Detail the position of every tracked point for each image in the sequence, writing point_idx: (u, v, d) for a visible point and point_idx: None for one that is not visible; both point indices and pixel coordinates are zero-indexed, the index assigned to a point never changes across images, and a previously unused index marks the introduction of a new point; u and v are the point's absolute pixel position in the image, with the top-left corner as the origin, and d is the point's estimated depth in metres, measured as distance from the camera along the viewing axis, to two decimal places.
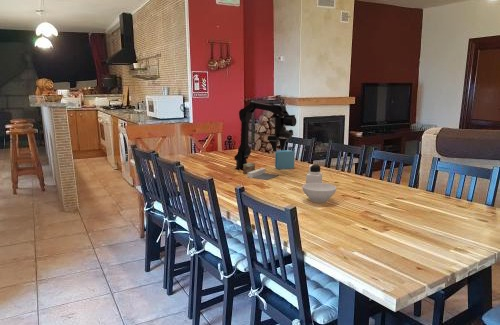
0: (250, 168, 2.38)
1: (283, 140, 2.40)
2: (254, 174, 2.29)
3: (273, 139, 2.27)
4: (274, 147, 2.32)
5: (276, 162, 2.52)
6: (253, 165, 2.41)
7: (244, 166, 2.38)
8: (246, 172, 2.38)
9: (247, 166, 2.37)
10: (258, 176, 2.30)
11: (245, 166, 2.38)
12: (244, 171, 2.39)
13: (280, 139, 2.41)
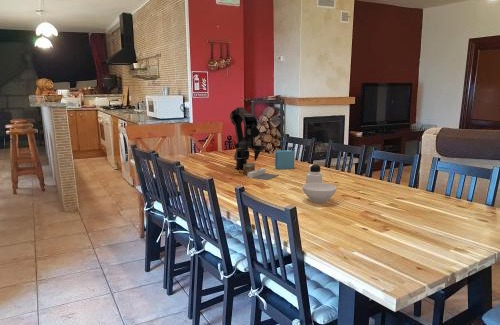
0: (250, 168, 2.38)
1: None
2: (254, 174, 2.29)
3: None
4: None
5: (276, 162, 2.52)
6: (253, 165, 2.41)
7: (244, 166, 2.38)
8: (246, 172, 2.38)
9: (247, 166, 2.37)
10: (258, 176, 2.30)
11: (245, 166, 2.38)
12: (244, 171, 2.39)
13: None
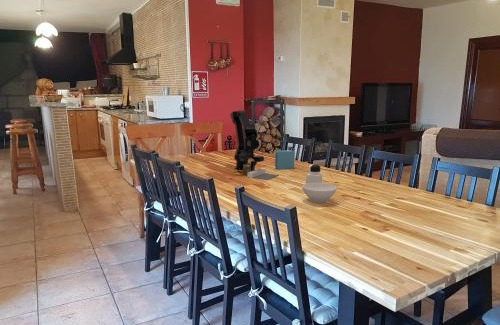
0: (250, 168, 2.38)
1: None
2: (254, 174, 2.29)
3: None
4: None
5: (276, 162, 2.52)
6: None
7: (244, 166, 2.38)
8: (246, 172, 2.38)
9: (247, 166, 2.37)
10: (258, 176, 2.30)
11: (245, 166, 2.38)
12: (244, 171, 2.39)
13: None
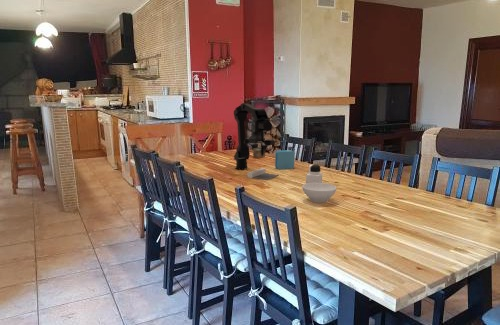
0: (260, 152, 2.29)
1: None
2: (254, 174, 2.29)
3: None
4: None
5: (276, 162, 2.52)
6: None
7: (254, 150, 2.29)
8: (256, 156, 2.28)
9: (257, 150, 2.27)
10: (258, 176, 2.30)
11: (255, 150, 2.28)
12: (254, 155, 2.29)
13: None
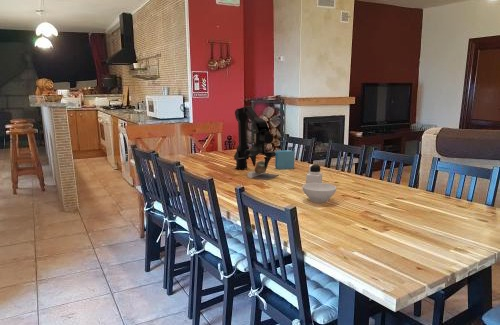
0: (262, 168, 2.29)
1: None
2: (254, 174, 2.29)
3: None
4: None
5: (276, 162, 2.52)
6: None
7: (257, 164, 2.29)
8: (257, 171, 2.29)
9: (260, 165, 2.28)
10: (258, 176, 2.30)
11: (258, 164, 2.28)
12: (255, 169, 2.30)
13: None
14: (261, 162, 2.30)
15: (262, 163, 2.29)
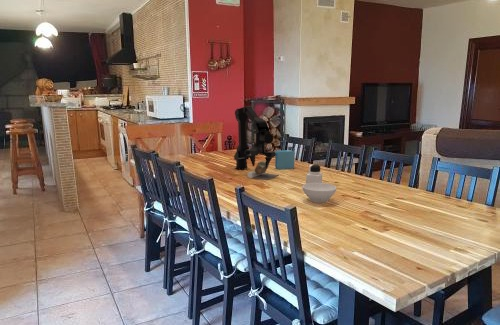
0: (263, 169, 2.29)
1: None
2: (254, 174, 2.29)
3: None
4: None
5: (276, 162, 2.52)
6: None
7: (258, 164, 2.29)
8: (257, 171, 2.29)
9: (261, 166, 2.27)
10: (258, 176, 2.30)
11: (259, 165, 2.28)
12: (256, 169, 2.30)
13: None
14: (262, 163, 2.30)
15: (263, 164, 2.29)
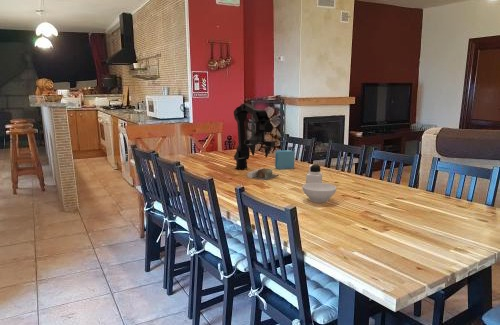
0: None
1: None
2: (254, 174, 2.29)
3: None
4: None
5: (276, 162, 2.52)
6: None
7: (264, 172, 2.27)
8: (259, 174, 2.29)
9: (265, 176, 2.27)
10: None
11: (264, 173, 2.27)
12: (260, 171, 2.29)
13: None
14: (268, 172, 2.29)
15: (268, 174, 2.28)
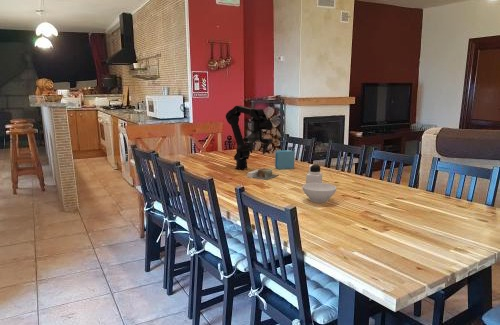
0: None
1: None
2: (254, 174, 2.29)
3: None
4: None
5: (276, 162, 2.52)
6: None
7: (264, 172, 2.27)
8: (259, 174, 2.29)
9: (265, 176, 2.27)
10: None
11: (264, 173, 2.27)
12: (260, 171, 2.29)
13: None
14: (268, 172, 2.29)
15: (268, 174, 2.28)
